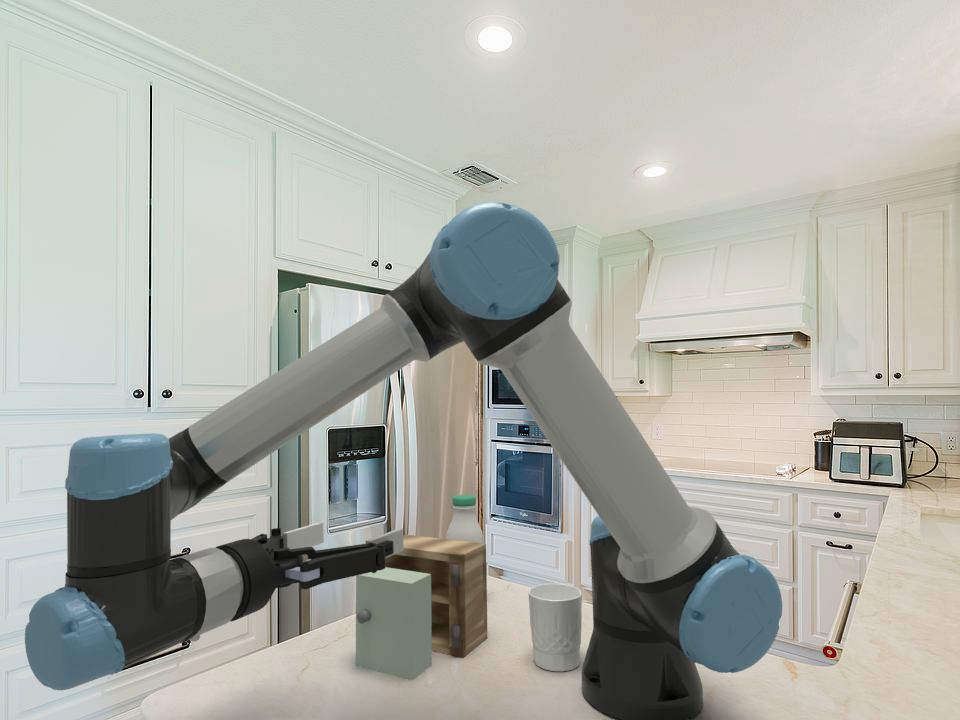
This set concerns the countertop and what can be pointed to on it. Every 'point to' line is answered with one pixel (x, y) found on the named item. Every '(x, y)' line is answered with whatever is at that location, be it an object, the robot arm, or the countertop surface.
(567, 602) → the white cup
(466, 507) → the milk bottle
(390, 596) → the door panel
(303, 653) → the countertop surface
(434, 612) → the cabinet
